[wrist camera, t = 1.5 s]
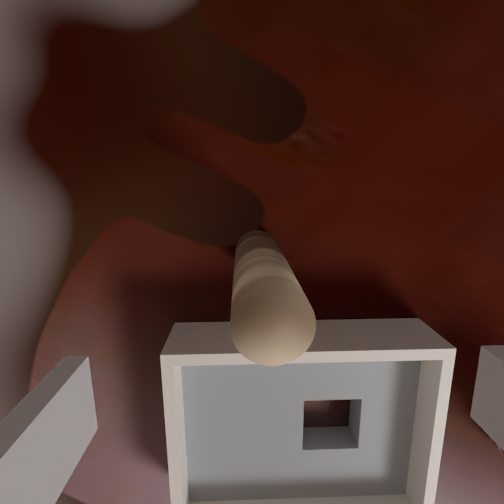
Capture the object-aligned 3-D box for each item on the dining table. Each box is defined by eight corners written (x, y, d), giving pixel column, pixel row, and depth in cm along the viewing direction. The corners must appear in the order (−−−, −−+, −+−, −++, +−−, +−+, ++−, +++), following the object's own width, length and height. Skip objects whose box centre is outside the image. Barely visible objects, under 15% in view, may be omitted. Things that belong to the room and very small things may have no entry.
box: (174, 322, 32) (160, 355, 26) (418, 318, 33) (456, 348, 27) (184, 483, 36) (173, 542, 31) (400, 476, 37) (430, 532, 31)
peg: (235, 230, 30) (228, 286, 15) (278, 229, 31) (317, 285, 15) (235, 272, 31) (230, 366, 16) (278, 271, 31) (314, 364, 16)
